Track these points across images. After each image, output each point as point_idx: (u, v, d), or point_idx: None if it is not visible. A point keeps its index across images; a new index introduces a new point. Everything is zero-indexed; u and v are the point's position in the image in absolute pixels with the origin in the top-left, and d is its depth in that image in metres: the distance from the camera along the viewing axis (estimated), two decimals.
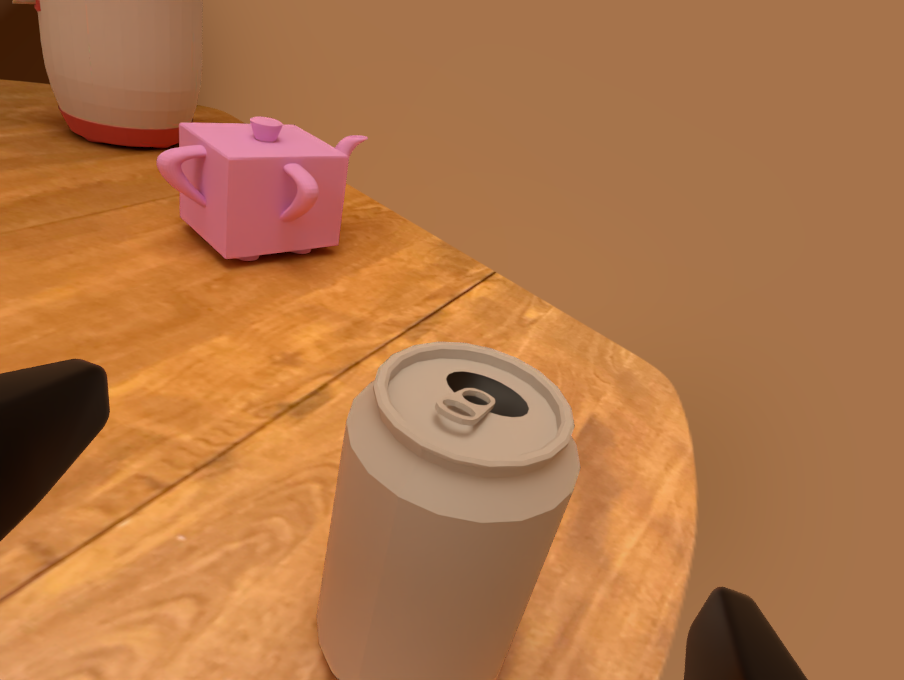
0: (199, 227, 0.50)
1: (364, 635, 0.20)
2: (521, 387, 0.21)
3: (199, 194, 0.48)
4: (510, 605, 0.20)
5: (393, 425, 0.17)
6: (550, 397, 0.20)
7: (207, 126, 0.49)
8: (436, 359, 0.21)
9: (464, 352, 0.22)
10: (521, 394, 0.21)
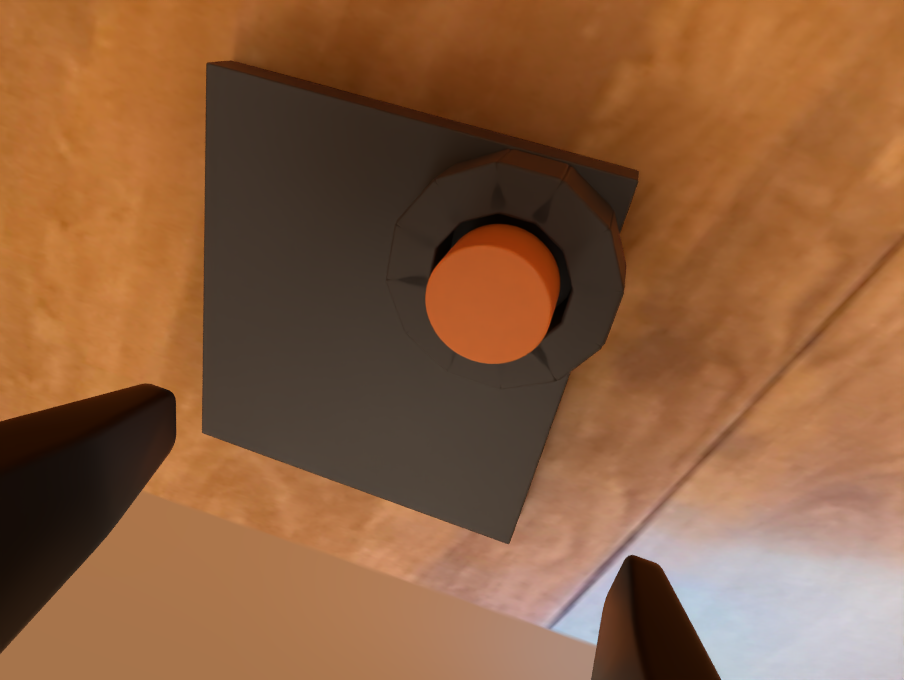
0: None
1: None
2: None
3: None
4: None
5: None
6: None
7: None
8: None
9: None
10: None
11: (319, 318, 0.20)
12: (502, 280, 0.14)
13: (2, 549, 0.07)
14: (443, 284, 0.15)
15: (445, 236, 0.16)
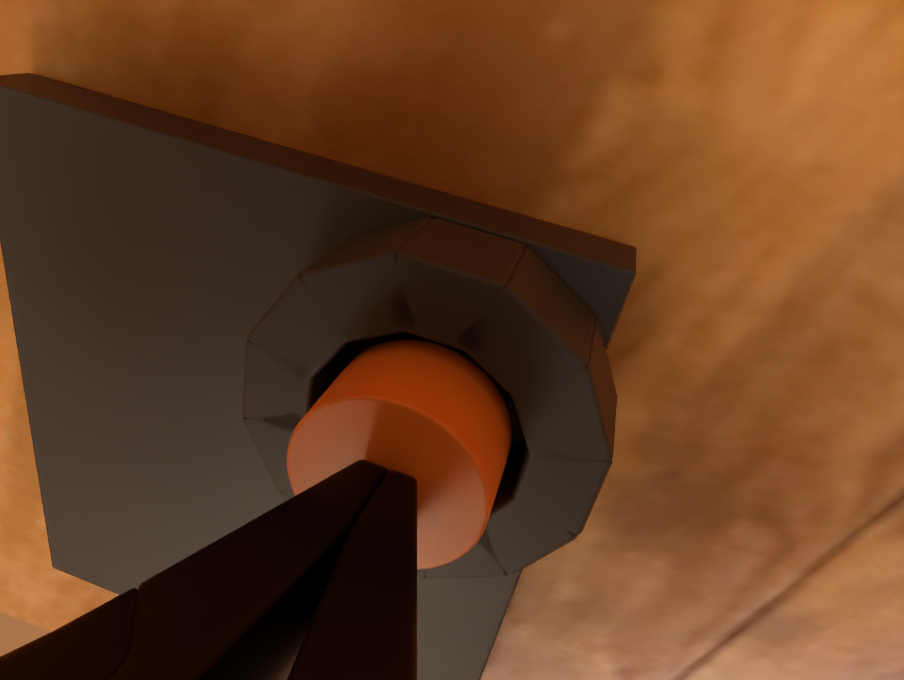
0: None
1: None
2: None
3: None
4: None
5: None
6: None
7: None
8: None
9: None
10: None
11: (181, 440, 0.14)
12: (405, 453, 0.08)
13: (272, 660, 0.06)
14: (312, 451, 0.09)
15: (324, 362, 0.10)
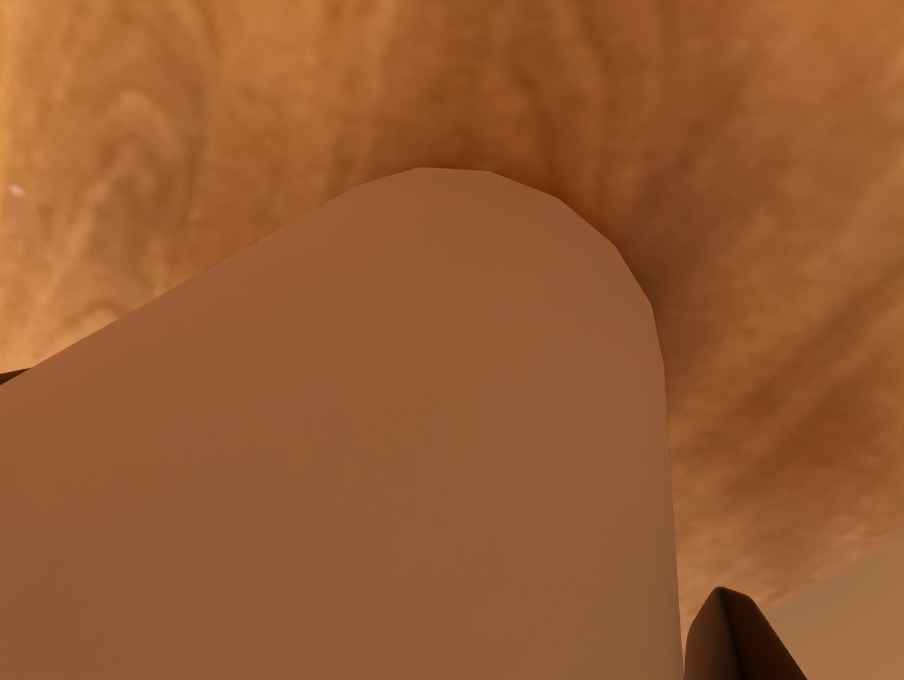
0: None
1: None
2: None
3: None
4: None
5: None
6: None
7: None
8: None
9: None
10: None
11: None
12: None
13: None
14: None
15: None
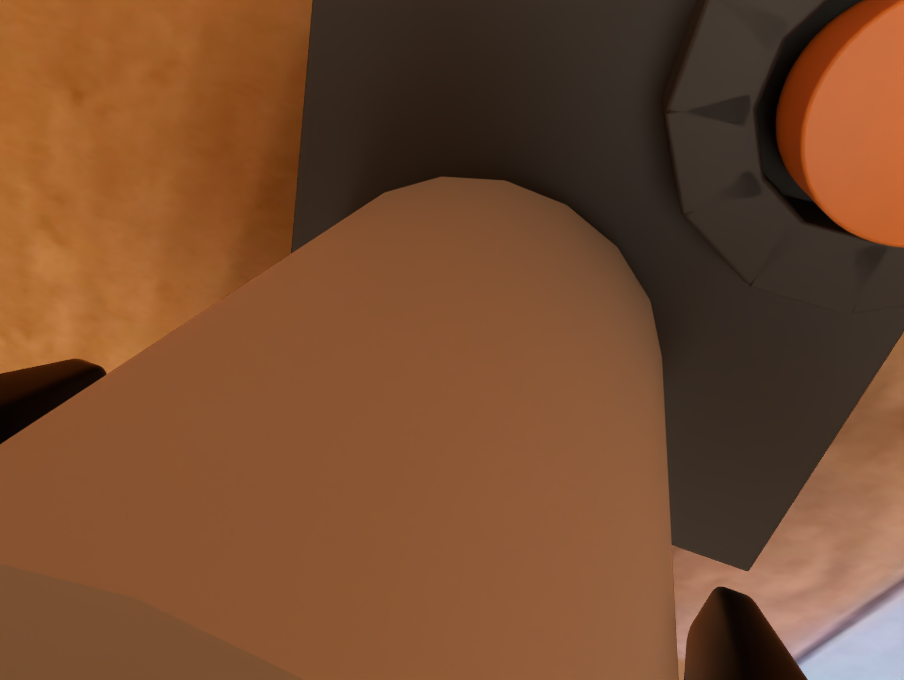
0: None
1: None
2: None
3: None
4: None
5: None
6: None
7: None
8: None
9: None
10: None
11: None
12: None
13: None
14: (858, 78, 0.07)
15: (812, 11, 0.08)
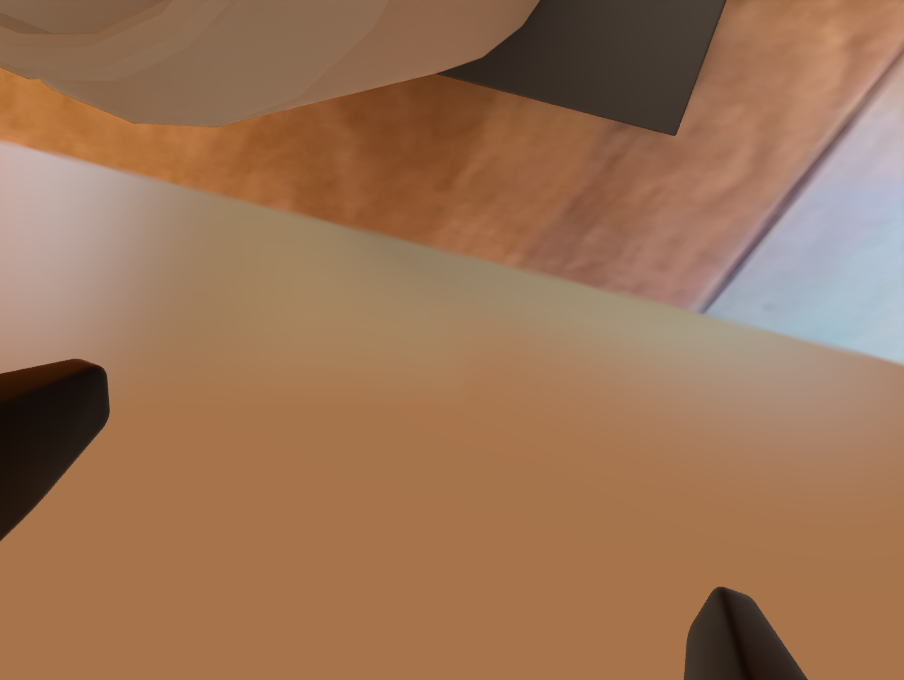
0: None
1: None
2: None
3: None
4: (452, 38, 0.10)
5: None
6: None
7: None
8: None
9: None
10: None
11: None
12: None
13: None
14: None
15: None
